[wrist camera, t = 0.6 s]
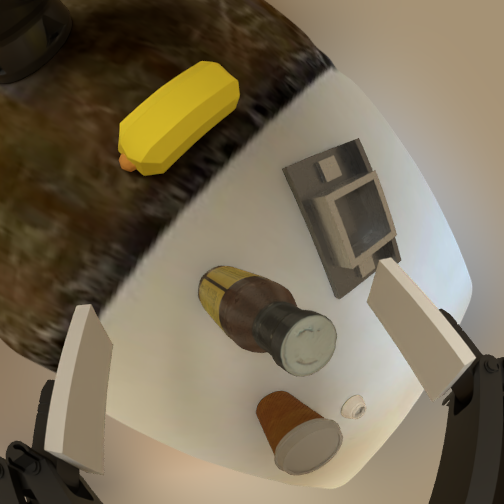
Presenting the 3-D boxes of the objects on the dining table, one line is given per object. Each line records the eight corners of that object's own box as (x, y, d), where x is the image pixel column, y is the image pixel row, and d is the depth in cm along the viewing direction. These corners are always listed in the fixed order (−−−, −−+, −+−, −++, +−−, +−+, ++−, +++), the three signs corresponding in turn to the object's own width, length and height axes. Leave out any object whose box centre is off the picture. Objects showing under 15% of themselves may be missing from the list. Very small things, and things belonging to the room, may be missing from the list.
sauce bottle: (224, 323, 34) (303, 412, 15) (186, 292, 32) (232, 371, 13) (256, 284, 35) (364, 335, 17) (220, 252, 33) (309, 277, 15)
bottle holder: (282, 168, 35) (301, 160, 30) (343, 144, 39) (365, 135, 34) (335, 297, 40) (357, 304, 35) (385, 258, 43) (408, 261, 38)
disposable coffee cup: (312, 390, 40) (357, 428, 29) (281, 433, 39) (317, 478, 27) (267, 374, 37) (309, 419, 25) (234, 422, 36) (264, 475, 24)
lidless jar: (338, 419, 43) (358, 410, 45) (347, 427, 40) (368, 417, 42) (341, 399, 43) (362, 390, 44) (351, 407, 40) (372, 397, 42)
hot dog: (103, 152, 28) (145, 194, 30) (92, 133, 21) (143, 184, 24) (207, 66, 31) (246, 101, 33) (220, 38, 25) (265, 78, 27)
